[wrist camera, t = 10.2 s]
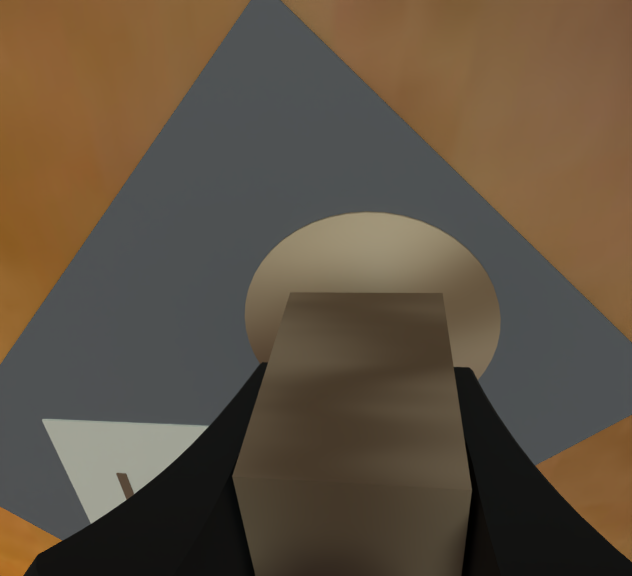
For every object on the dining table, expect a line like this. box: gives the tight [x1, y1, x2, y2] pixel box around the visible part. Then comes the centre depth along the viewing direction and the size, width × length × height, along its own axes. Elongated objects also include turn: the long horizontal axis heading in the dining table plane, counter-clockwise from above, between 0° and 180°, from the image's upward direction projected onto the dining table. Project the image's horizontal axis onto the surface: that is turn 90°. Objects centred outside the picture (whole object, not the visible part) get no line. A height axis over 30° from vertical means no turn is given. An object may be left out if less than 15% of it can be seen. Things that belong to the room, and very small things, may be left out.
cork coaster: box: [245, 211, 501, 380], centre depth 16 cm, size 8×8×1 cm
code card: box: [42, 419, 209, 523], centre depth 21 cm, size 8×8×1 cm
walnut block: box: [232, 292, 472, 576], centre depth 12 cm, size 4×4×6 cm
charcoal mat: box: [0, 0, 632, 540], centre depth 19 cm, size 16×24×1 cm, turn 139°
